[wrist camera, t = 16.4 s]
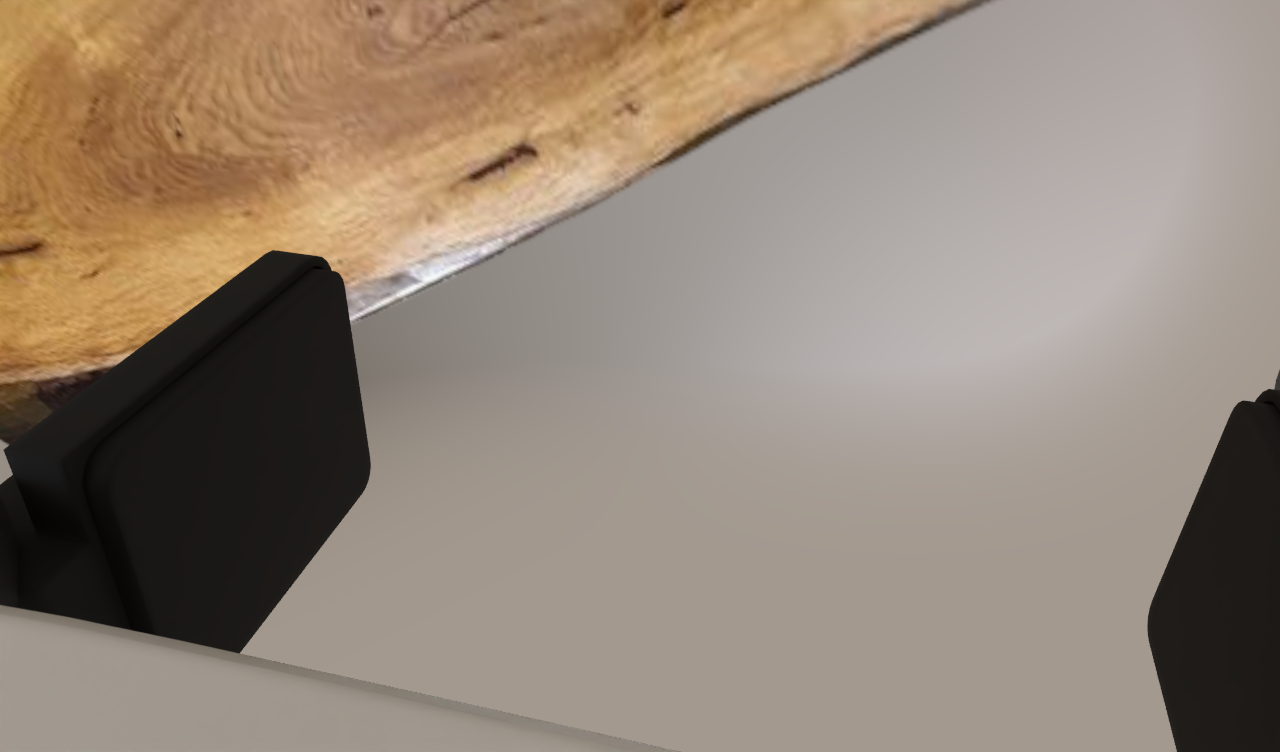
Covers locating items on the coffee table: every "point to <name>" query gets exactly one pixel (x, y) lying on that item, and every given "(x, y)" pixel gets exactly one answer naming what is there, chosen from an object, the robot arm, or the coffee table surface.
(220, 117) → the coffee table surface
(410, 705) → the robot arm
